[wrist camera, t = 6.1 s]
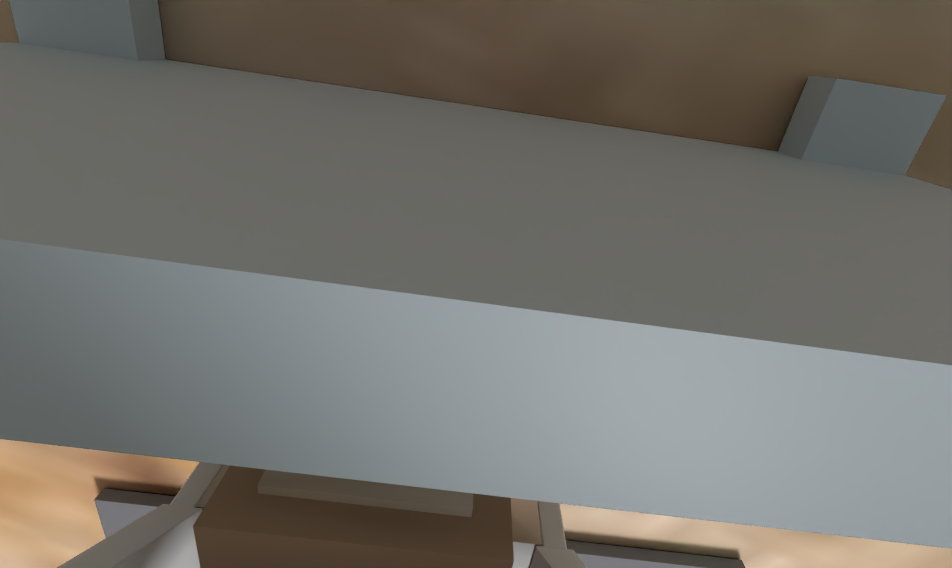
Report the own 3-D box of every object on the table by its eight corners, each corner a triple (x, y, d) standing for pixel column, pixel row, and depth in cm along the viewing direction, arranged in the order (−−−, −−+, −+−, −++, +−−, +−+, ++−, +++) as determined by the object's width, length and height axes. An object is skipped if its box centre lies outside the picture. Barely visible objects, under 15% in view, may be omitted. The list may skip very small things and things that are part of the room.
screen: (37, -46, 8) (-2680, -618, 1) (910, 91, 9) (2543, 255, 2) (86, 179, 10) (-887, 497, 3) (815, 280, 11) (1469, 742, 4)
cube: (304, 338, 12) (184, 529, 7) (505, 364, 12) (516, 565, 7) (307, 488, 14) (218, 706, 9) (476, 507, 14) (471, 729, 10)
